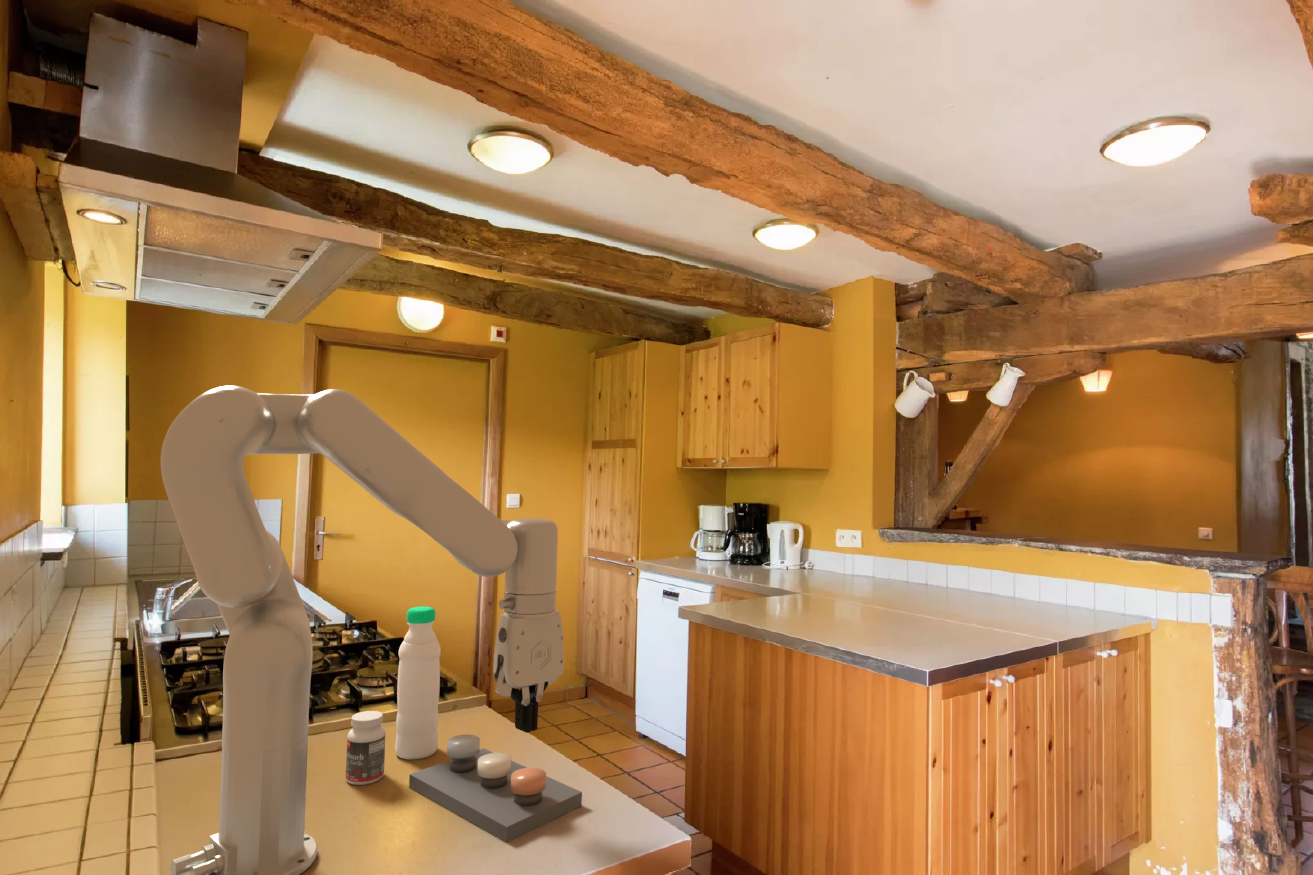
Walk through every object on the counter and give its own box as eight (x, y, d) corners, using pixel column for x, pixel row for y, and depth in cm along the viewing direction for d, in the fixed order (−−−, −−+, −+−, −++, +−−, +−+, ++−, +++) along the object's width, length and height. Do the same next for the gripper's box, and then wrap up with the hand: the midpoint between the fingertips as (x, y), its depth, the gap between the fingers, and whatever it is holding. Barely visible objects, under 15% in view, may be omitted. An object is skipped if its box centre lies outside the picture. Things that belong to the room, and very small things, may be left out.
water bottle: (424, 763, 121) (429, 613, 122) (386, 758, 122) (391, 610, 123) (444, 747, 128) (449, 605, 129) (408, 743, 129) (413, 603, 130)
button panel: (506, 842, 97) (506, 817, 97) (409, 787, 112) (409, 765, 112) (581, 805, 107) (582, 783, 107) (483, 760, 123) (484, 740, 123)
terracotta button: (525, 798, 101) (526, 785, 101) (503, 787, 104) (503, 775, 104) (552, 787, 105) (553, 774, 105) (530, 776, 108) (530, 764, 108)
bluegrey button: (459, 761, 111) (459, 749, 111) (440, 752, 115) (441, 740, 115) (485, 751, 115) (486, 740, 115) (467, 743, 118) (467, 732, 118)
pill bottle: (337, 781, 114) (339, 717, 114) (367, 767, 119) (369, 707, 119) (362, 789, 111) (364, 724, 111) (391, 775, 116) (393, 713, 116)
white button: (490, 781, 106) (491, 769, 106) (470, 771, 109) (471, 759, 109) (517, 771, 110) (518, 759, 110) (497, 761, 113) (497, 750, 113)
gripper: (504, 614, 98) (500, 751, 97) (584, 600, 109) (580, 722, 109) (472, 606, 103) (467, 736, 102) (551, 593, 114) (548, 710, 113)
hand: (526, 729), depth 105 cm, fingers closed
